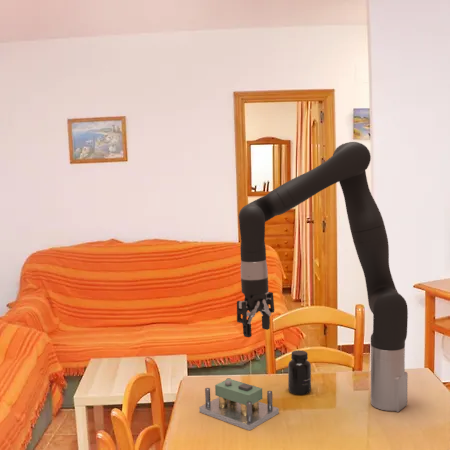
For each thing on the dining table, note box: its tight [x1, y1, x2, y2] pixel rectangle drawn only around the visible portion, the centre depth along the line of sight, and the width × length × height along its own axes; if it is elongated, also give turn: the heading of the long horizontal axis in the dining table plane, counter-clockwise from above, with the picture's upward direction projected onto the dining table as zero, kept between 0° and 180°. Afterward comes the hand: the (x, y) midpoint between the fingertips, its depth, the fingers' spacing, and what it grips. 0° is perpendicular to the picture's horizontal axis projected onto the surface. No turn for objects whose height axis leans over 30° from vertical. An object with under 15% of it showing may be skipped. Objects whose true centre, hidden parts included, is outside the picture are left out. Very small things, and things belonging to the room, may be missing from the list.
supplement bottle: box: [287, 350, 312, 396], centre depth 167 cm, size 7×7×12 cm
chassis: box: [198, 377, 280, 431], centre depth 154 cm, size 18×13×6 cm
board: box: [214, 378, 263, 405], centre depth 153 cm, size 12×6×4 cm, turn 50°
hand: (257, 332), depth 155 cm, fingers open, 8 cm apart
